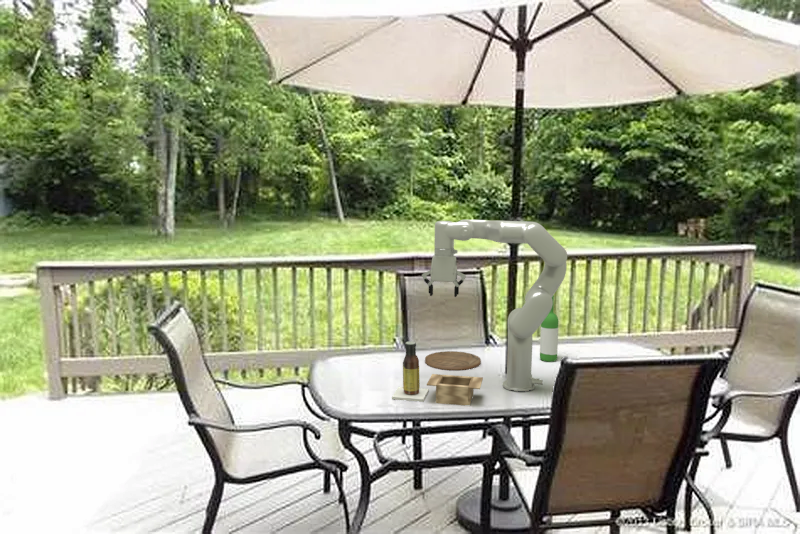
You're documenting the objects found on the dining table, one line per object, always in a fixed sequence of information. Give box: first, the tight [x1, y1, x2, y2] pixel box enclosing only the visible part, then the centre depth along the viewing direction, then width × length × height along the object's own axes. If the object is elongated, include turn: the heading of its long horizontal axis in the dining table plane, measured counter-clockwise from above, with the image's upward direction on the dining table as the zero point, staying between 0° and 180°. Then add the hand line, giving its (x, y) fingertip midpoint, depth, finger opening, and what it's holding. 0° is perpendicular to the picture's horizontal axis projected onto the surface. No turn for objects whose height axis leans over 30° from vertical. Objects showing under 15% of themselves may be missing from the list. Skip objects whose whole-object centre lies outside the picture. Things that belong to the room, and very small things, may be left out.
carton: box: [426, 373, 484, 406], centre depth 242 cm, size 20×13×7 cm, turn 78°
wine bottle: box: [539, 294, 559, 363], centre depth 291 cm, size 8×8×30 cm
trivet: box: [424, 350, 482, 372], centre depth 289 cm, size 25×25×2 cm
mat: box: [391, 386, 430, 403], centre depth 245 cm, size 12×12×1 cm
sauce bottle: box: [402, 340, 421, 395], centre depth 244 cm, size 7×6×20 cm
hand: (443, 295), depth 253 cm, fingers open, 9 cm apart
